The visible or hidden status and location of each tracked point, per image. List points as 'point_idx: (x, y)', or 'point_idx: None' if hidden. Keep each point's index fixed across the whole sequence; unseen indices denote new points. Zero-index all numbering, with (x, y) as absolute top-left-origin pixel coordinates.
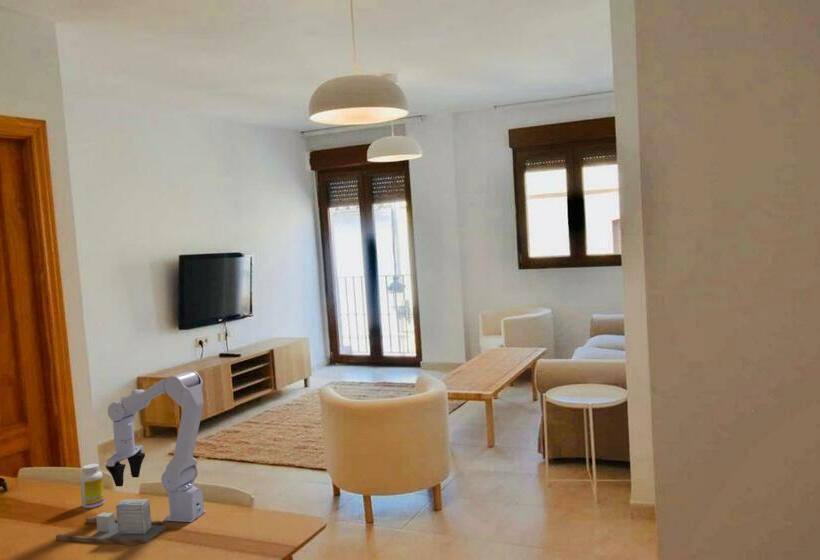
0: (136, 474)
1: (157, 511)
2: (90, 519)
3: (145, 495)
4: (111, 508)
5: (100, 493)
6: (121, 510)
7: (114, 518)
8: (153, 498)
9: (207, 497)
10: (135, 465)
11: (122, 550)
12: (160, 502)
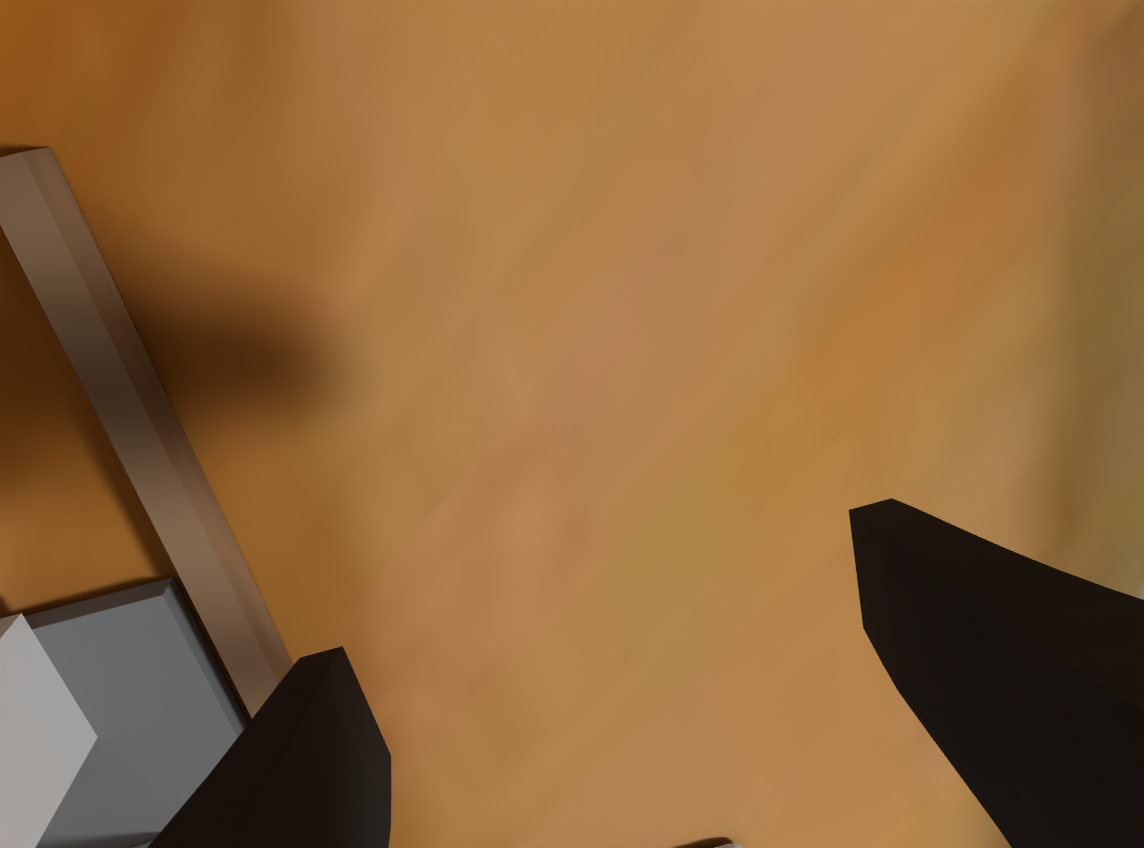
0: (893, 651)
1: (657, 683)
2: (18, 248)
3: (1046, 116)
4: (519, 41)
5: None
6: None
7: (44, 830)
8: (965, 328)
9: None
10: (1039, 807)
11: None
12: None
